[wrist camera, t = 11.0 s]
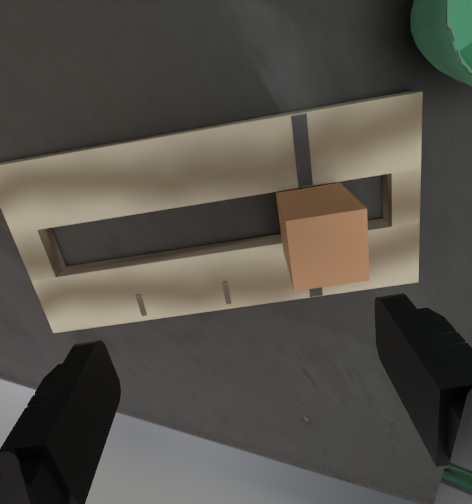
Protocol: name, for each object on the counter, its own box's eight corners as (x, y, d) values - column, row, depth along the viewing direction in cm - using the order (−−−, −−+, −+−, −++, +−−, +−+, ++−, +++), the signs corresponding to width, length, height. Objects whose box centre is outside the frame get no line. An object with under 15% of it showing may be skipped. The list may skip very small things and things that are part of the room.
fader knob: (272, 183, 29) (285, 221, 21) (331, 174, 29) (367, 208, 21) (279, 237, 31) (293, 291, 23) (335, 229, 31) (369, 280, 23)
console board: (-1, 162, 29) (-18, 168, 27) (409, 91, 27) (423, 91, 25) (63, 319, 34) (52, 334, 32) (408, 271, 32) (419, 282, 30)
